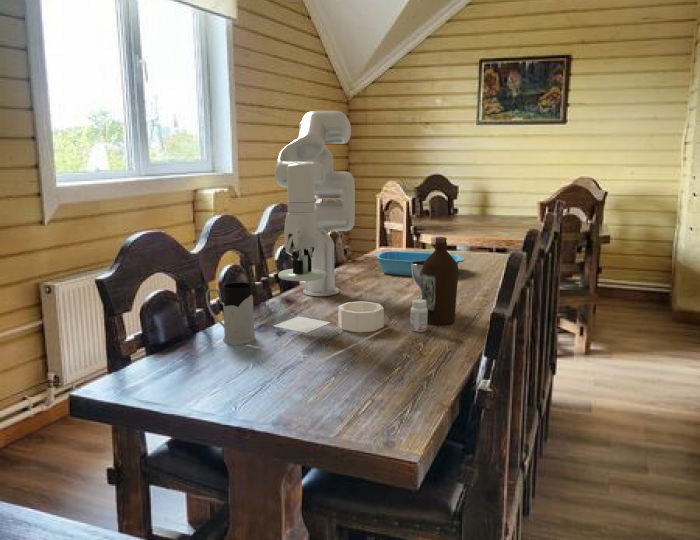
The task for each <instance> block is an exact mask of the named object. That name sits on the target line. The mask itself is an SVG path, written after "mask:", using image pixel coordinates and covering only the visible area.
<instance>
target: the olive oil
mask: <svg viewBox="0 0 700 540" xmlns="http://www.w3.org/2000/svg"><path fill="white" fill-rule="evenodd" d="M447 239H448V238H447V237H444V236H436V237H435V242H434V251H433V252H431V253H432V254H431V255H430V256H429V257H428V258H427V259H426V261H425V262H424V264H423V267H422V291H423V300H426V307H427V309H428V315H427V325H428V324H429V325H432V326H433V325H434V326H448V325H451V324H454V323H455V321H456V306H457V305H456V304H457V294H458V283H459V273H460V272H459V266H458V265H459V264H458V265H457V263H456V261H455V260H454V259H453V258H452V256H451V255H450V254H451V253H449V252H448V250H447V249H448V246H447V245H448V242H447Z"/></svg>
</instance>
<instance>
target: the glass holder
mask: <svg viewBox="0 0 700 540" xmlns="http://www.w3.org/2000/svg"><path fill="white" fill-rule="evenodd" d="M211 290H213V291H215V292H216V293H217V295H218V301H219V304H221V305H223V307H222V308H223V321H221V320H220V319H219V318H218V317H217V315H216V314H215V313H214V311H213V310H212V307H211V306H210V301H209V292H210V291H211ZM222 292H223V293H222V294H223V301H222V295H221V292H220V290H219V289H218V288H216V287H210V288H208V289H207V291H206V293H205V300H206V306H207V308H208V311H209V313H210V314H211V316H212V317H213V318H214V319H215V320H216V321H217V323H219V324H220V325H221V326H222V327H223V329H224V338H223V339H222V341H223V343H224V344H226V345H230V346H244V345H247V343H250V342H252V341H254V340H256V337H257V336H256V335H255V319H254V317H255V316H254V315H255V314H254V295H253V284H252V283H249V282H230V283H226V284H224V285H223V287H222Z"/></svg>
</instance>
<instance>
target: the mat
mask: <svg viewBox="0 0 700 540" xmlns="http://www.w3.org/2000/svg"><path fill="white" fill-rule="evenodd" d="M331 323H332V322H331V321H325V320H321V319H315V318H309V317H305V316H299V315H298V316H296V317H293V318H290V319H288V320H285V321H282V322H280V323H276V324H275V325H273V327H275V328H280V329H284V330H290V331H295V332H298V333H299V332H300V333H304V334H307V333H310V332H312V331H314V330H318V329H319V328H322V327H325V326H326V325H327V326H328V325H329V324H331Z"/></svg>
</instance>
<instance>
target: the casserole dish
mask: <svg viewBox="0 0 700 540" xmlns="http://www.w3.org/2000/svg"><path fill="white" fill-rule="evenodd" d="M432 253H433V252H423V251H421V252H420V251H405V250H403V251H402V250H387V251H382V252H377V253H375V254H374V255H373V256H374V257H375V258H377V261H378V265H379V267H380V270H381V271H382V272H383V273H385V274H387V275H395V276H397V275H398V276H406V277H407V276H409V277H410V276H412V270H411V263H412V262H413V261H418V260H426V259H427V258H428V257H429V256H430V255H431V254H432ZM449 254H450V255H451V256H452V258H453V259H454V260H455V261H456V263H457V265H459V263H463V262H464V261H465V260H466V259H465V257H463V256H460V255H458V254H453V253H449Z"/></svg>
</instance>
